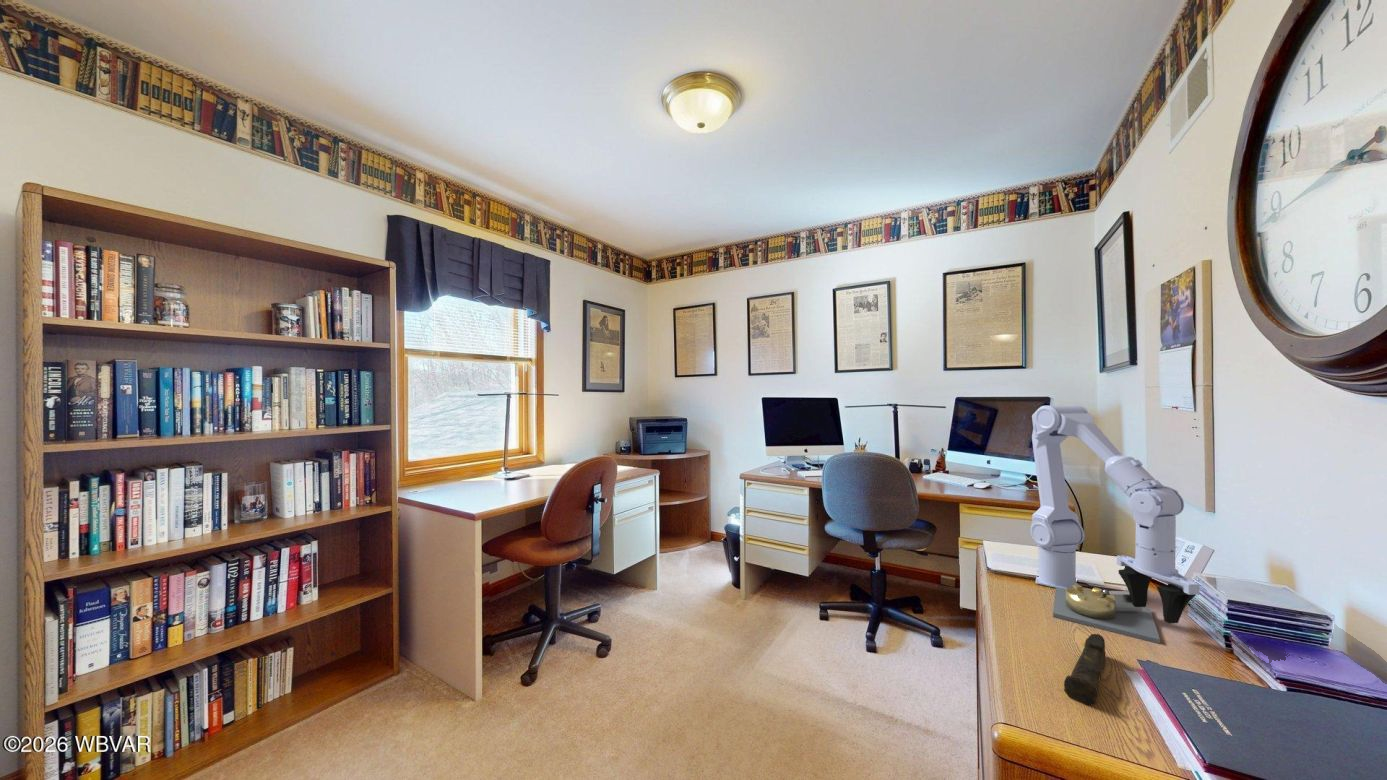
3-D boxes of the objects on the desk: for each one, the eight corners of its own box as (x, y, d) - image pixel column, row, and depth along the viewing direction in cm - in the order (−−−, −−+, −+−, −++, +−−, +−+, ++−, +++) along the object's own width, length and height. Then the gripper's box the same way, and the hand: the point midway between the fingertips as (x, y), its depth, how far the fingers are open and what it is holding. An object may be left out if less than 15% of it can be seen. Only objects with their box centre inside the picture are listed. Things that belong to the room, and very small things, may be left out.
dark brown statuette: (1096, 711, 70) (1096, 681, 70) (1063, 697, 73) (1063, 668, 73) (1119, 663, 82) (1120, 637, 82) (1090, 652, 85) (1090, 628, 85)
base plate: (1055, 590, 110) (1055, 586, 110) (1149, 611, 100) (1149, 607, 100) (1053, 616, 98) (1053, 612, 98) (1159, 643, 87) (1159, 639, 87)
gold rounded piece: (1085, 618, 95) (1085, 599, 95) (1056, 599, 103) (1056, 582, 103) (1156, 619, 94) (1156, 599, 94) (1121, 600, 102) (1121, 582, 102)
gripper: (1215, 560, 86) (1215, 633, 86) (1139, 535, 100) (1139, 597, 100) (1178, 561, 86) (1178, 633, 86) (1107, 535, 100) (1107, 597, 100)
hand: (1154, 614), depth 93 cm, fingers open, 6 cm apart
